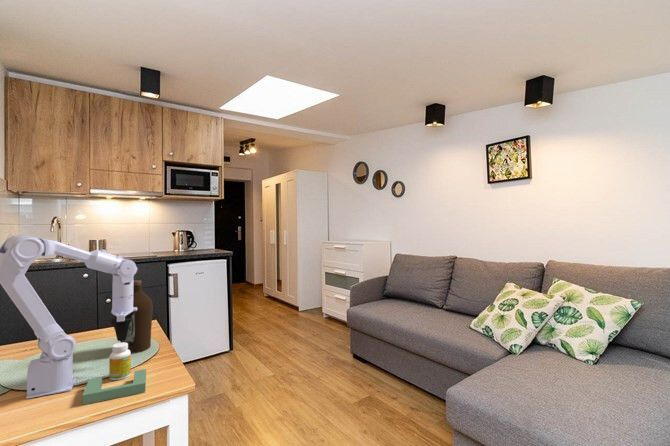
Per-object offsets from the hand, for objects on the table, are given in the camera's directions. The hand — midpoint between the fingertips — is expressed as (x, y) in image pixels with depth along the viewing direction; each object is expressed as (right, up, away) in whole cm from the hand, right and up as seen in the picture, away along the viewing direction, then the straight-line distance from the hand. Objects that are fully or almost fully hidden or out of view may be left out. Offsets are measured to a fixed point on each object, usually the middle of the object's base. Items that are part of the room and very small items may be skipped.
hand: (122, 337), depth 105 cm
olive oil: (-5, -9, +14) cm, 18 cm away
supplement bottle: (+3, -10, -6) cm, 12 cm away
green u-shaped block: (+7, -10, -13) cm, 18 cm away
